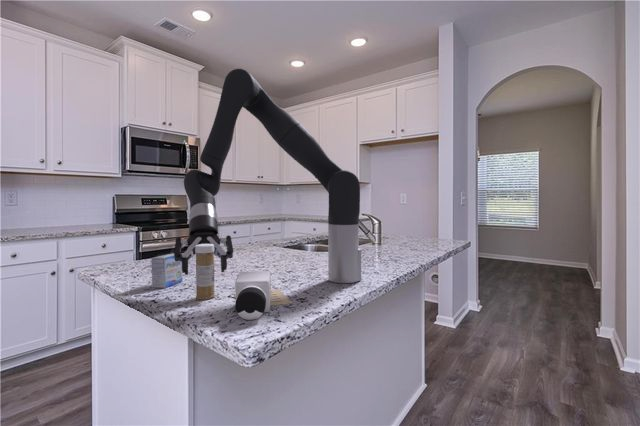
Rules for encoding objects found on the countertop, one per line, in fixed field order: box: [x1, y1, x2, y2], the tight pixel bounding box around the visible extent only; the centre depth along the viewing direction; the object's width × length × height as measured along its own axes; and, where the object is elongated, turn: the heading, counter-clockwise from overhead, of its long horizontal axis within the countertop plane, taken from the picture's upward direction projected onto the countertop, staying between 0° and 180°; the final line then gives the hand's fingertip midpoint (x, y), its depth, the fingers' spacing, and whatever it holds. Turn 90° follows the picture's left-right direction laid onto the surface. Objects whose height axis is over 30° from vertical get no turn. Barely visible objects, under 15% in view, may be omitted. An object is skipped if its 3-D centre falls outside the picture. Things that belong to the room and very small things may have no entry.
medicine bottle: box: [234, 270, 272, 321], centre depth 71 cm, size 7×7×12 cm
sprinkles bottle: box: [195, 244, 216, 301], centre depth 82 cm, size 5×5×14 cm
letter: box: [233, 289, 293, 307], centre depth 81 cm, size 12×13×1 cm
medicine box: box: [150, 253, 183, 289], centre depth 96 cm, size 8×4×9 cm, turn 168°
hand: (205, 271), depth 81 cm, fingers open, 8 cm apart
